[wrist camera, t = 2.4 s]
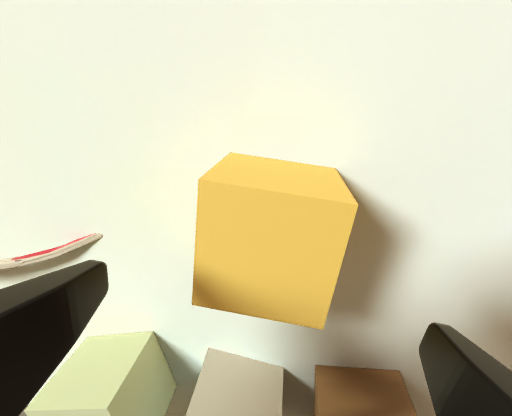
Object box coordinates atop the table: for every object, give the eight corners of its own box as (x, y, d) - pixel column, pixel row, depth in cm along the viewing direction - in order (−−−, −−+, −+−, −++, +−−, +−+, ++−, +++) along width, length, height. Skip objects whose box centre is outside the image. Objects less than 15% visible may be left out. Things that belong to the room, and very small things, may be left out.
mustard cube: (335, 167, 13) (358, 204, 8) (313, 258, 15) (323, 330, 10) (230, 152, 13) (198, 179, 9) (222, 242, 15) (191, 304, 11)
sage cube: (153, 330, 18) (106, 408, 14) (177, 384, 20) (142, 470, 15) (88, 335, 19) (23, 410, 15) (116, 387, 21) (66, 469, 16)
